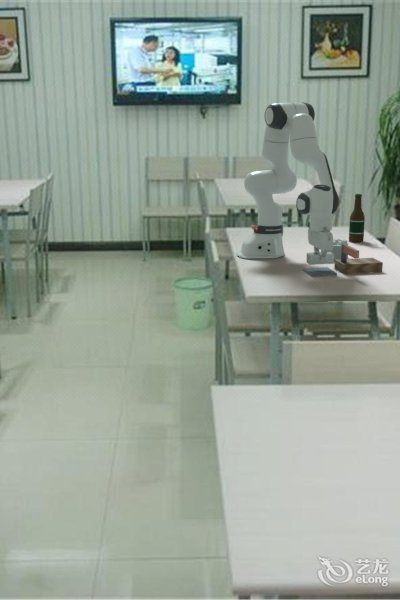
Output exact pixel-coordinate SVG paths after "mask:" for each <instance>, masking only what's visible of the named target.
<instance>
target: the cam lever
mask: <svg viewBox="0 0 400 600" xmlns="http://www.w3.org/2000/svg"><path fill="white" fill-rule="evenodd" d="M347 254H348V256H350V257H351V258H352V259H357V258H360V250H359V249H356V248H355V247H353V246H350V245H349V244H348V245H347V244H342V246H341V262H347Z"/></svg>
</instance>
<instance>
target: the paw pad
mask: <svg viewBox="0 0 400 600" xmlns="http://www.w3.org/2000/svg"><path fill="white" fill-rule="evenodd" d="M342 244H347V245H348V246H349V243H348V241H347V240H346V239H343V240H342V239H341V238H333V251H332V252H331V253H333V254H334V263H335V260H338V259H341V246H342ZM348 256H349V255H348V254H347V259H349V258H348Z"/></svg>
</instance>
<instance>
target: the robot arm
mask: <svg viewBox="0 0 400 600" xmlns="http://www.w3.org/2000/svg"><path fill="white" fill-rule="evenodd" d="M315 113H316V112H315V108H314V106H313V105H312V104H310V103H307V102H298V101H289V102H275V103H271V104H269V105H268V106H267V107H266V109H265V111H264V121H265V124H266V126H265V129H264V130H265V131H264V135H263V143H262V151H261V156H262V158H263V159H264V160H265V161H266V162H268V163H269V166H270V167H269V168H270V169H266V170H255V171H253V172H252V171H251V172H249V173H247V174H246V176H245V178H244V182H243V184H244V188H245V191H246V192H247V193H248V194H249V195H250V196H251V197H252V198H253V199H254V201H255V204H256V207H257V209H256V210H257V224H256V225H255V224H251V226H250V228H251V229H252V230H253V232H252V234H251V235H248V237H246V238H245V239H243V240H242V243H241V249H240V250H238V251H236V253H235V254H236V256H237V257H238V256H239V257H238V258H241V259H245V260H246V259H249V260H250V259H278V258H280V257H283V256H285V255H286V254H285V248H284V244H283V235H284V225H283V208H282V206H281V205H280V204H279V203H277V202H275V200H274V198H273V195H279V194H280V195H281V194H286V193H289V192H292V191H294V189H296V187H297V184H298V183H297V182H298V181H297V176H296V174H295V172H294V171H293V170H292V169H291V168H290V166H289V163H288V150H289V145H290V151H291V154H292V157H293V158H294V159H295V160H296V161H298V162H299V163H302V164H304V165H307V166H309V167H311V168H312V169H313V170H315V171H316V173H317V177H318V179H319V180H318V181H319V184H315V185H313V186H312V188H311V189H308V190H306V191H304V192H301V193H299V194H298V196H297V198H296V200H295V201H296V203H295V204H296V209H297V211H298V212H299V214H301V215H304V216H310V217H309V218H310V219H309V221H307V222H306V223H307V224H306V226H307V239H308V240H307V241H308V243H309V245H311V246H313V251H314V252H322V253H321V256H320V260H322V261H325V260H326V254H327V252H332V251H333V239H334V236H333V233H332V232H331V231H332V230H333V214H334V213H336V212H337V211H338V208H339V206H340V203H341V202H340V197H339V194H338V191H337V190H336V187H335V184H334V183H335V182H334V180H333V179H334V178H333V176H332V172H331V168H330V164H329V162H328V161H329V160H328V157H327V155H326V154H325V153H324V152H322V149H321V148H320V146H319V143H318V137H317V132H316V127H315V126H316V125H315V123H314V120H315V116H316V114H315Z"/></svg>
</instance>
